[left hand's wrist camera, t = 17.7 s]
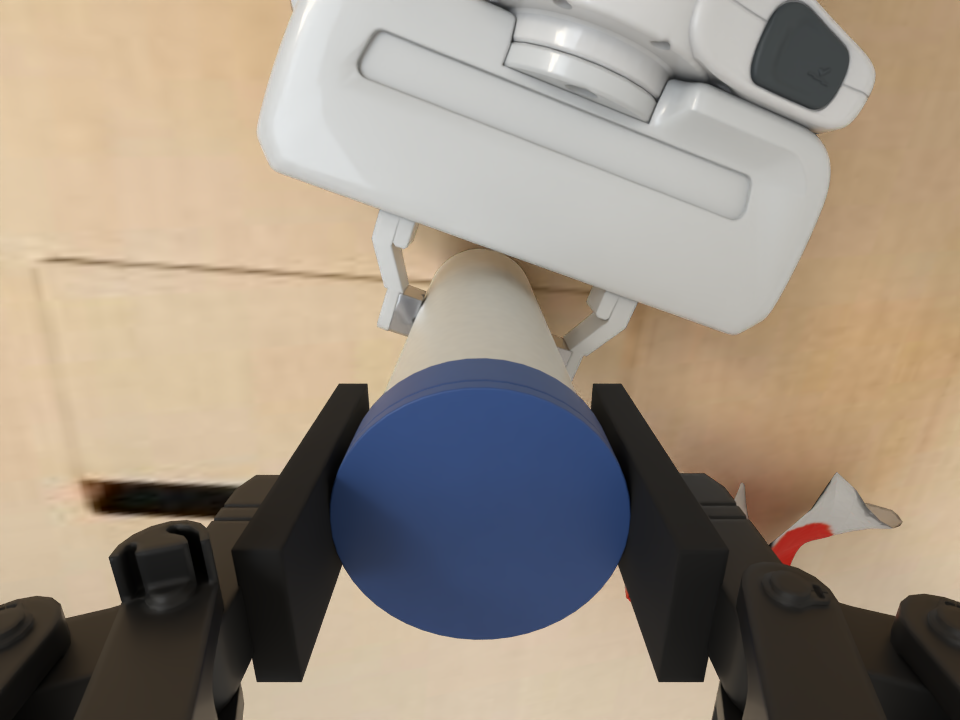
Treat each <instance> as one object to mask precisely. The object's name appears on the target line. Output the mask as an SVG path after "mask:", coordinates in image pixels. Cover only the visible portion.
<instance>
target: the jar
mask: <svg viewBox="0 0 960 720" xmlns="http://www.w3.org/2000/svg"><path fill="white" fill-rule="evenodd" d="M471 358H489V359H500V360H507V361H511V362H516V363H520V364H524V365H527V366H529V367H532V368H535V369H538V370H540V371H542V372H544V373H546V374H548V375H550V376H552V377H554V378H556V379H557V380H559V381H560V382H562V383H563V384H564V385H566V386H567V387H569V388H570V389H571V390H572V391H573V392H575V393H576V391H575V389H574V386H573V384H572V382H571V379H570V377H569V374H568V372H567V370H566V367H565V365H564V363H563V360H562V358H561V356H560V353H559V351H558V349H557V346H556V344H555V342H554V339H553V337H552V335H551V332H550V330H549V327H548V325H547V323H546V320H545V318H544V316H543V313H542V311H541V309H540V306H539V304H538V302H537V299H536V297H535V295H534V292H533V290H532V288H531V285H530V283H529V281H528V278H527V276H526V275H525V273H524V271H523V270H522V269H521V267H520V266H519V265H518V264H517V263H516V262H515V261H513V260H512V259H511V258H510V257H508V256H506V255H504V254H502V253H500V252H497V251H494V250H489V249H471V250H467V251H463V252H460V253H458V254H456V255H454V256H452V257H451V258H449V259H448V260H447V261H446V262H444V263H443V264H442V265H441V267H440V268H439V269H438V270H437V272H436V273H435V275H434V277H433V279H432V281H431V283H430V286H429V288H428V290H427V293H426V295H425V298H424V301H423V303H422V305H421V308H420V310H419V312H418V314H417V316H416V319H415V321H414V323H413V326H412V328H411V330H410V333H409V335H408V337H407V340H406V342H405V344H404V347H403V349H402V351H401V354H400V356H399V359H398V361H397V363H396V366H395V368H394V370H393V373H392V375H391V377H390V380H389V382H388V384H387V387H386V389H385V391H384V393H385V392H387V391H388V390H389V389H390V388H392V387H393V386H394V385H396V384H397V383H398V382H400V381H402V380H403V379H405V378H407V377H408V376H410V375H412V374H414V373H416V372H418V371H421V370H423V369H425V368H428V367H430V366H434V365H437V364H441V363H444V362H448V361H454V360H461V359H471ZM576 394H577V393H576Z"/></svg>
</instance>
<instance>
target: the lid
mask: <svg viewBox="0 0 960 720" xmlns="http://www.w3.org/2000/svg"><path fill="white" fill-rule="evenodd" d="M630 517H631V508H630V496H629V492H628V488H627V483H626V480H625V477H624V475H623V472H622V470H621V467H620V465H619V463H618V460H617V458H616V456H615V454H614V452H613V450H612V448H611V446H610V443H609V441H608V439H607V437H606V435H605V433H604V431H603V428H602V426H601V425H600V423H599V421H598V420H597V418H596V416H595V415H594V413H593V412H592V411H591V409H590V408H589V407H588V406H587V405H586V403H585V402H584V401H583V400H582V399H581V398H580V397H579V396H578V395H577V394H576V393H575V392H573V391H572V390H571V389H570V388H569V387H567V386H566V385H564V384H563V383H562V382H560V381H559V380H557V379H556V378H554V377H552V376H550V375H548V374H546V373H544V372H542V371H540V370H538V369H535V368H532V367H529V366H527V365H524V364H520V363H516V362H511V361H507V360H500V359H489V358H471V359H461V360H454V361H448V362H444V363H441V364H437V365H434V366H430V367H428V368H425V369H423V370H421V371H418V372H416V373H414V374H412V375H410V376H408V377H407V378H405V379H403V380H402V381H400V382H398V383H397V384H396V385H394V386H393V387H392V388H390V389H389V390H388V391H387V392H385V393H384V394H383V395H382V396H381V397H380V398H379V399H378V400H377V401H376V402H375V404H374V405H373V406H372V407H371V408H370V410H369V411H368V413H367V414H366V415H365V417H364V418H363V420H362V422H361V424H360V426H359V427H358V429H357V431H356V433H355V435H354V438H353V440H352V442H351V444H350V446H349V448H348V450H347V452H346V455H345V457H344V459H343V461H342V463H341V465H340V467H339V470H338V472H337V475H336V478H335V481H334V484H333V487H332V493H331V499H330V523H331V531H332V538H333V541H334V545H335V548H336V551H337V554H338V556H339V558H340V560H341V562H342V564H343V566H344V568H345V570H346V571H347V573H348V574H349V576H350V577H351V579H352V580H353V582H354V583H355V584H356V585H357V586H358V588H359V589H360V590H361V591H362V592H363V593H364V594H365V595H366V596H367V597H368V598H369V599H370V600H371V601H372V602H374V603H375V604H376V605H377V606H378V607H380V608H381V609H383V610H384V611H386V612H387V613H388V614H390V615H391V616H393V617H395V618H397V619H399V620H401V621H403V622H404V623H406V624H409V625H411V626H414V627H416V628H418V629H421V630H424V631H427V632H431V633H434V634H438V635H442V636H447V637H453V638H460V639H473V640H483V639H499V638H508V637H513V636H518V635H522V634H527V633H530V632H533V631H536V630H539V629H542V628H545V627H547V626H549V625H551V624H554V623H556V622H558V621H560V620H562V619H564V618H565V617H567V616H569V615H570V614H572V613H573V612H575V611H576V610H578V609H579V608H580V607H582V606H583V605H584V604H586V603H587V602H588V601H589V600H590V599H591V598H592V597H593V596H594V595H595V594H596V593H597V592H598V591H599V590H600V589H601V588H602V587H603V586H604V584H605V583H606V582H607V581H608V579H609V578H610V577H611V575H612V573H613V572H614V570H615V568H616V567H617V565H618V563H619V561H620V559H621V556H622V554H623V551H624V549H625V546H626V542H627V538H628V534H629V526H630Z"/></svg>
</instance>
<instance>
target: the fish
mask: <svg viewBox="0 0 960 720" xmlns="http://www.w3.org/2000/svg"><path fill="white" fill-rule="evenodd" d="M734 500H735V502H736V505H737V506H739V507H740V508H741V510H742V511H743V512H744V513H745V515H746V518H747V519H748V513H747V506H746V497H745V485H744V484H743V483H742V482H741V484H740V487H739V489H738V492H737V494H736V497H735V499H734ZM901 524H902V521H901V519H900V518H899V516H898V515H897V514H896V513H895V512H893V511H892V510H889V509H886V508H882V507H879V506H875V505H872V504H867V503H864V502H863V500H862V499H861V497H860V495H859V494H858V492H857V491H856V489H855V488H853V487H852V486H851V485H850V484H849V483H848V482H847V481H846V480H845V479H844V478H843V477H842V476H841V475H839V474H838V473H837V472H836V474H835V475H834V476H833V478H832V479H831V481H830V482H829V484H828V485H827V486H826V488H825V489H824V491H823V492H822V494H821V495H820V497H819V498H818V500H817V501H816V503H815V504H814V506H813V507H812V509H811V510H810V511H808V512H807V513H806V514H805V515H804V516H803V517H802V518H801V519H799V520H798V521H797V522H796V523H795V524H794V525H792V526H791V527H790V528H789V529H788V530H786V531H785V532H784V533H783V534H781V535H780V536H779V537H778V538H777V539H775V540H774V541H773V542H772V543H770V544H769V546H770V548H771V549H772V550H773V551H774V553H775V554H776V555H777V557H778V558H779V559H780V561H781V562H782V563H783V564H786V565H789V566H790V565H791V562H792V560H793V558H794V556H795V554H796V552H797V551H798V549H799V548H800V547H801V546H802V545H803V544H804V543H806V542H809V541H812V540H817V539H821V538H825V537H829V536H832V535H836V534H841V533H845V532H850V531H855V530H863V529H871V528H878V529H891V528H895V527H898V526H900V525H901ZM625 592H626V598H627V599H629V601H630V598H629V595H628V592H627V589H626V586H625ZM630 602H631V601H630Z"/></svg>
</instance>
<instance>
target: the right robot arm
mask: <svg viewBox="0 0 960 720" xmlns="http://www.w3.org/2000/svg"><path fill="white" fill-rule="evenodd" d="M290 3H291V8H292V12H293V13H292V15H291V18H290V20H289V23H288V25H287V28H286V31H285V33H284V36H283V39H282V41H281V44H280V47H279V50H278V53H277V56H276V59H275V62H274V65H273V68H272V71H271V75H270V78H269V81H268V85H267V88H266V92H265V96H264V99H263V103H262V107H261V111H260V115H259V120H258V124H257V138H258V141H259V143H260V146H261V148H262V150H263V152H264V155H265V157H266V159H267V161H268V163H269V165H270V167H271V168H272V169H273V170H274V171H276V172H278V173H280V174H283V175H286V176H288V177H291V178H294V179H297V180H300V181H302V182H305V183H308V184H311V185H313V186H316V187H319V188H322V189H325V190H327V191H330V192H333V193H336V194H339V195H341V196H344V197H347V198H350V199H352V200H355V201H358V202H361V203H364V204H366V205H369V206H372V207H375V208H378V209H380V210H379V214H378V218H377V221H376V225H375V228H374V232H373V236H372V241H373V245H374V249H375V253H376V257H377V260H378V264H379V268H380V272H381V276H382V280H383V283H384V287H385V288H387V292H386V295H385V299H384V302H383V305H382V309H381V312H380V316H379V319H378V323H377V327H379V328H381V329H384V330H387V331H391V332H394V333H397V334H401V335H404V336H407V337H408V335H409V333H410V330H411V328H412V326H413V323H414V321H415V319H416V316H417V314H418V312H419V310H420V308H421V305H422V303H423V301H424V297H425V294H426V291H424V290H421V289H419V288H416V287H413V286H410V285H409V282H408V277H407V273H406V268H405V263H404V259H403V254H402V249H405V248H407V247H408V246H409V245H410V244H411V243H412V242H413V241H414V238H415V235H416V232H417V229H418V225H419V224H422V225H425V226H428V227H430V228H433V229H436V230H439V231H442V232H444V233H447V234H450V235H453V236H455V237H458V238H461V239H464V240H467V241H469V242H472V243H475V244H478V245H481V246H483V247H486V248H489V249H492V250H494V251H497V252H500V253H503V254H506V255H508V256H511V257H514V258H517V259H519V260H522V261H525V262H528V263H531V264H533V265H536V266H539V267H542V268H545V269H547V270H550V271H553V272H556V273H558V274H561V275H564V276H567V277H570V278H572V279H575V280H578V281H581V282H584V283H586V284H589V285H592V289H591V291H590V293H589V296H588V298H587V301H586V302H587V305H588V306H589V307H590V308H591V310H592V311H593V313H592V314H590V315H589V316H588V317H587V318H586V319H584V320H583V321H582V322H581V323H579V324H578V325H577V326H576V327H575V328H573V329H572V330H571V331H570V332H568V333H567V334H566V335H565V336H564V337H563V338H561V337H558V336H555V335H552V334H551V335H552V337H553V339H554V342H555V344H556V346H557V349H558V351H559V353H560V356H561V358H562V360H563V363H564V365H565V367H566V370H567V372H568V374H569V377H570V379H571V382H572V380H573V378H574V376H575V373H576V371H577V369H578V367H579V365H580V362H581V360H582V358H583V356H588V355H589V354H590V353H592V352H593V351H595V350H596V349H597V348H599V347H600V346H602V345H603V344H604V343H606V342H607V341H609V340H610V339H611V338H613V337H614V336H616V335H617V334H618V333H620V332H621V331H622V330H624V329H625V328H626V326H627V324H628V322H629V320H630V318H631V316H632V314H633V312H634V310H635V307H636V305H637V303H638V302H639V303H642V304H645V305H648V306H650V307H653V308H656V309H659V310H661V311H664V312H667V313H670V314H673V315H675V316H678V317H681V318H684V319H687V320H689V321H692V322H695V323H698V324H700V325H703V326H706V327H709V328H712V329H714V330H717V331H720V332H723V333H726V334H729V335H737V334H740V333H742V332H744V331H746V330H747V329H749V328H751V327H753V326H755V325H756V324H758V323H760V322H761V321H763V320H764V319H765V318H766V317H767V316H768V315H769V314H770V312H771V311H772V310H773V308H774V306H775V305H776V303H777V301H778V300H779V298H780V296H781V295H782V293H783V291H784V289H785V287H786V285H787V283H788V282H789V280H790V278H791V276H792V274H793V272H794V270H795V268H796V266H797V264H798V262H799V260H800V258H801V256H802V254H803V252H804V249H805V247H806V245H807V243H808V241H809V239H810V237H811V234H812V232H813V230H814V227H815V225H816V223H817V220H818V218H819V215H820V213H821V210H822V208H823V205H824V202H825V199H826V196H827V193H828V189H829V184H830V175H831V167H830V159H829V155H828V152H827V150H826V148H825V146H824V144H823V143H822V141H821V140H820V139H819V138H818V137H817V136H816V135H815V134H820V133H825V132H830V131H834V130H838V129H842V128H844V127H846V126H848V125H849V124H850V123H851V122H852V121H853V120H854V119H855V118H856V117H857V115H858V114H859V113H860V111H861V110H862V108H863V106H864V105H865V103H866V101H867V99H868V97H869V96H870V94H871V91H872V89H873V86H874V83H875V78H876V74H875V69H874V66H873V64H872V62H871V60H870V59H869V57H868V56H867V55H866V54H865V52H864V51H863V50H862V49H861V48H860V47H859V46H858V45H857V44H856V43H855V42H854V41H853V40H852V38H851V37H850V36H849V35H848V34H847V33H846V32H845V31H844V30H843V29H842V28H841V27H840V26H839V25H838V24H837V23H836V22H835V20H834V19H833V18H832V17H831V16H830V15H829V14H828V13H827V12H826V11H825V9H824V8H823V7H822V6H821V5H820V4H819V3H818V2H817V1H816V0H290ZM401 248H402V249H401Z"/></svg>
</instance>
